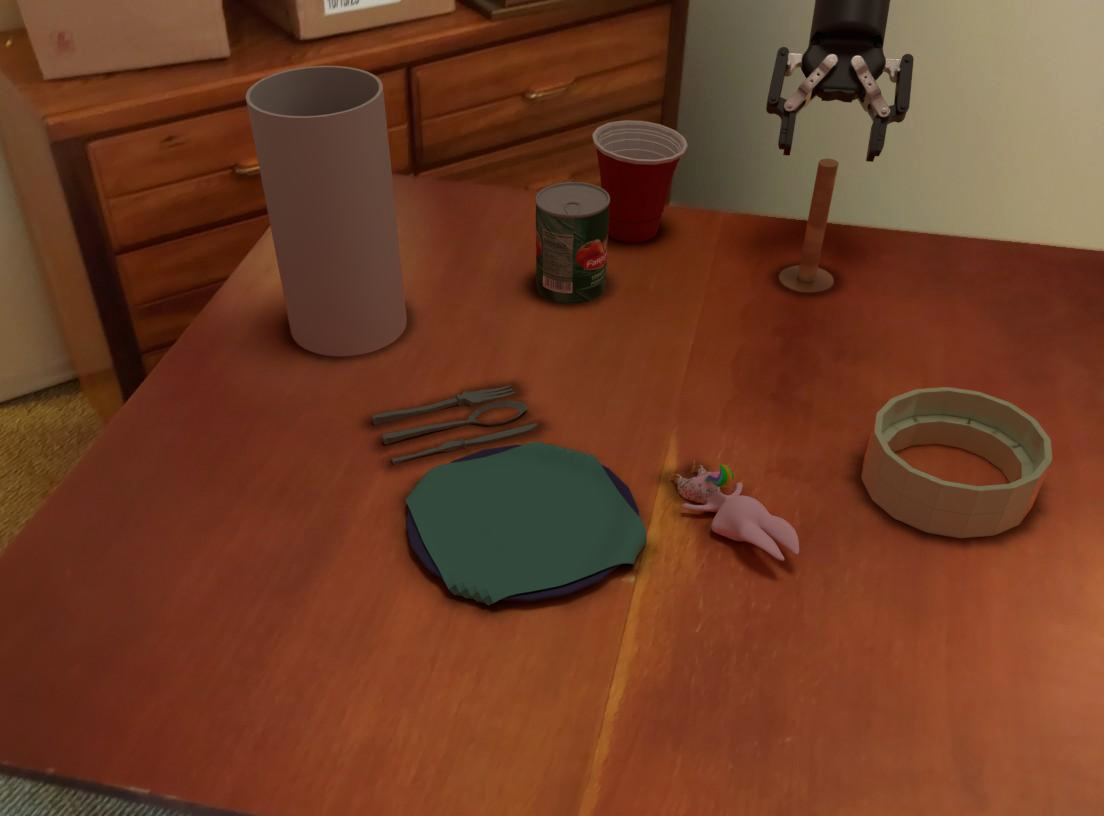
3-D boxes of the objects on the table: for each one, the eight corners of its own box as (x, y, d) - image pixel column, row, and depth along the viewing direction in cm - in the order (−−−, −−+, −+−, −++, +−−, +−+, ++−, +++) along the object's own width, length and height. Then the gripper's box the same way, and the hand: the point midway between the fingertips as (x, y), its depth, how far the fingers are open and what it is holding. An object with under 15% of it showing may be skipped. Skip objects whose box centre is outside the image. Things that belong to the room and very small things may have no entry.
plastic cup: (676, 261, 124) (686, 158, 115) (584, 256, 125) (587, 154, 117) (680, 217, 131) (690, 118, 123) (593, 213, 133) (596, 115, 124)
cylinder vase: (391, 367, 110) (362, 120, 92) (276, 358, 112) (225, 114, 94) (419, 305, 118) (397, 68, 101) (312, 297, 120) (272, 63, 102)
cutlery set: (450, 643, 83) (448, 623, 81) (352, 429, 103) (348, 410, 101) (679, 576, 87) (681, 556, 86) (542, 384, 107) (542, 364, 105)
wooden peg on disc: (794, 267, 122) (816, 145, 112) (841, 283, 119) (869, 160, 109) (767, 288, 119) (788, 165, 109) (815, 305, 116) (841, 180, 106)
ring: (903, 422, 101) (919, 369, 97) (1053, 482, 94) (1077, 427, 90) (831, 498, 94) (845, 444, 89) (988, 568, 87) (1011, 513, 83)
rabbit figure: (652, 505, 96) (758, 587, 85) (651, 447, 92) (761, 525, 81) (709, 483, 98) (820, 561, 86) (710, 425, 94) (825, 499, 83)
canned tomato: (536, 274, 122) (535, 181, 115) (604, 274, 122) (609, 180, 114) (535, 311, 117) (534, 215, 109) (606, 310, 117) (611, 214, 109)
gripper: (785, -24, 108) (761, 135, 109) (931, -18, 106) (906, 145, 106) (780, 16, 116) (757, 165, 116) (916, 22, 113) (892, 175, 113)
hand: (828, 155), depth 111 cm, fingers open, 8 cm apart
